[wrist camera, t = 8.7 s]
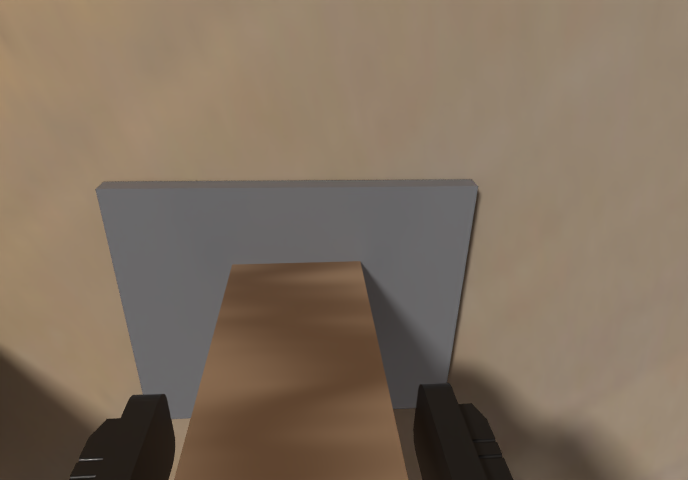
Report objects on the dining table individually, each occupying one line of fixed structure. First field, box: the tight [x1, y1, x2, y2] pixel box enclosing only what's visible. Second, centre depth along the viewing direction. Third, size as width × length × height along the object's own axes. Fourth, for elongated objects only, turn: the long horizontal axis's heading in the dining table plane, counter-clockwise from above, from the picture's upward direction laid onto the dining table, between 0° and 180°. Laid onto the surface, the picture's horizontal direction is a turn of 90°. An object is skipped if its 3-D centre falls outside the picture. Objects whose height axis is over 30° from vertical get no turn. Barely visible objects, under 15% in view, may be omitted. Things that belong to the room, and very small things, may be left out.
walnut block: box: [174, 261, 408, 480], centre depth 11 cm, size 4×4×11 cm
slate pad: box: [96, 179, 478, 419], centre depth 16 cm, size 11×9×1 cm
